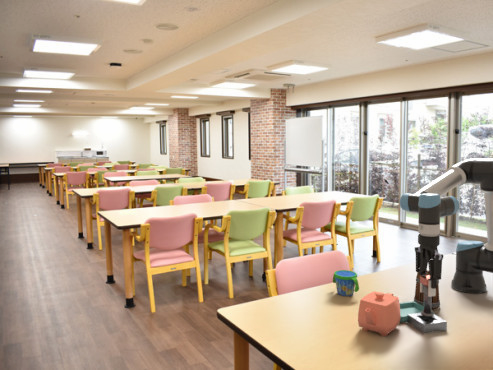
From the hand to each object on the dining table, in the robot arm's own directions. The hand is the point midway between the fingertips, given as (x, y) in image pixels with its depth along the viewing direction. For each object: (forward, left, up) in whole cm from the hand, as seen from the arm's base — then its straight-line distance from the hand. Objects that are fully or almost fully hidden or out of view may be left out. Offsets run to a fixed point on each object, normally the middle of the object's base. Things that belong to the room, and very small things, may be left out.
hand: (427, 293), depth 158 cm
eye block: (0, 0, -13) cm, 13 cm away
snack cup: (+13, -41, -13) cm, 45 cm away
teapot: (+19, -3, -13) cm, 24 cm away
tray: (0, -12, -13) cm, 18 cm away
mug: (-15, -20, -13) cm, 28 cm away
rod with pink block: (0, 0, -8) cm, 8 cm away
